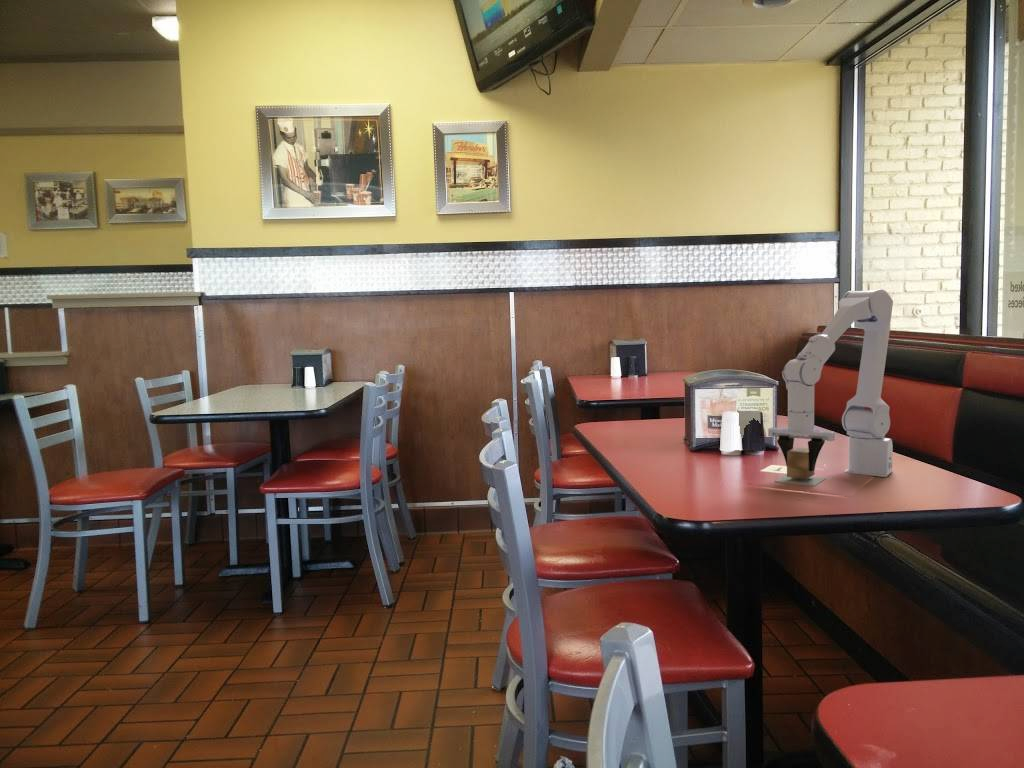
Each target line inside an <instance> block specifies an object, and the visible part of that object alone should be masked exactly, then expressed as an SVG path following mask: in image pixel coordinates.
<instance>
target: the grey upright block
mask: <svg viewBox="0 0 1024 768" xmlns="http://www.w3.org/2000/svg"><path fill="white" fill-rule="evenodd" d="M736 410H737V412H738V413H739V426H740V434H741V437H742V438H743V435H744V428H745V427H746V425H748V424H750V423H749V421H751V420H753V418H754V419H755V420H756V421H757V420H758V421H759V423H760V424H761V420H762V419H761V410H760V409H758V408H738V409H737V408H736ZM736 410H735V411H736Z"/></svg>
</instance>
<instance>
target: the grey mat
mask: <svg viewBox="0 0 1024 768" xmlns="http://www.w3.org/2000/svg"><path fill="white" fill-rule="evenodd" d="M825 480H827V478H826V477H821V476H820V477H819V476H811V477H810V478H808V479H802V478H792V477H787V474H783V476H781V477H779V478H777V479H776V480H774V482H775V483H782V484H788V485H798V486H799V485H800V486H808V487H816V486H818V485H819V484H820V483H823V481H824V482H825Z"/></svg>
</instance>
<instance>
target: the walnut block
mask: <svg viewBox="0 0 1024 768" xmlns="http://www.w3.org/2000/svg"><path fill="white" fill-rule="evenodd" d="M814 475H815V470H813V471H809V448H803V447H793V449H791V450H789V451H787V477H792V478H802V479H808V478H810V477H811V476H812V477H814Z"/></svg>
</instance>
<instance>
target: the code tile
mask: <svg viewBox="0 0 1024 768" xmlns="http://www.w3.org/2000/svg"><path fill="white" fill-rule="evenodd" d="M760 472H764V473H773V474H783V475H786V474H787V466H786V465H779V464H777V465H776V464H771V465H769V466H766V467H765V468H763V469H761V470H760Z"/></svg>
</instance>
